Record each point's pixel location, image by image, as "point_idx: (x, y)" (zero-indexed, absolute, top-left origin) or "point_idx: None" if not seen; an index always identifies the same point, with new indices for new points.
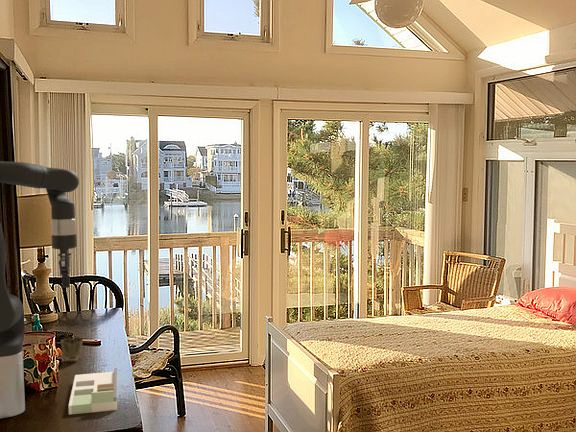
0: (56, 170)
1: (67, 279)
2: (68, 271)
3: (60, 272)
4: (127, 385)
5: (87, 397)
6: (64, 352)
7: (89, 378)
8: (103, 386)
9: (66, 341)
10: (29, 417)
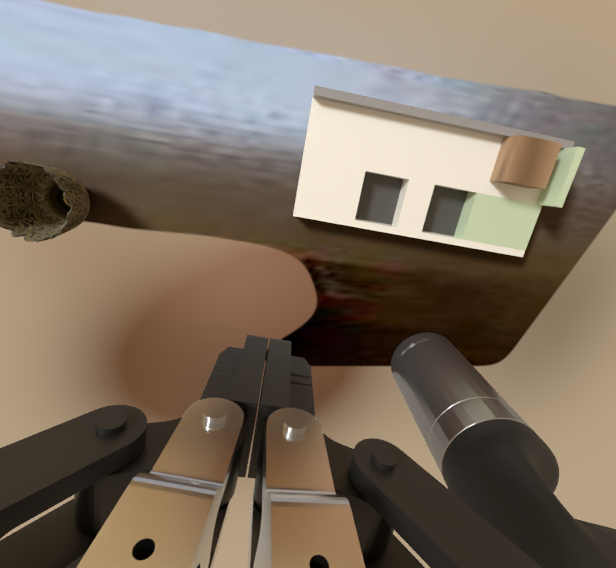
0: None
1: (312, 401)
2: (412, 484)
3: (405, 566)
4: (385, 76)
5: (493, 208)
6: (76, 226)
7: (344, 182)
8: (530, 167)
9: (8, 217)
10: (476, 325)
